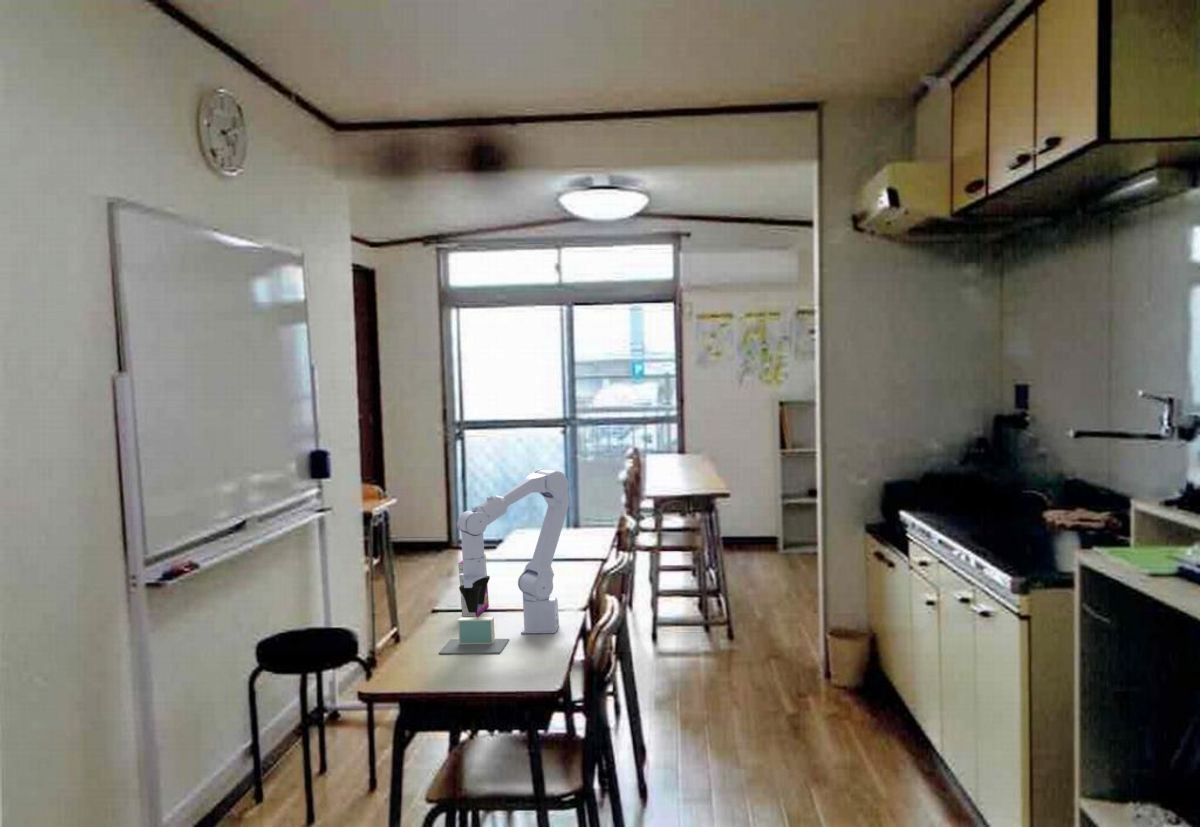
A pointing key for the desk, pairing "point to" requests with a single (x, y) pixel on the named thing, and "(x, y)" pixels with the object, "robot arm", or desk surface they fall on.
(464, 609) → the candy bar box
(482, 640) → the block
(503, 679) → the desk surface
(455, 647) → the mat
